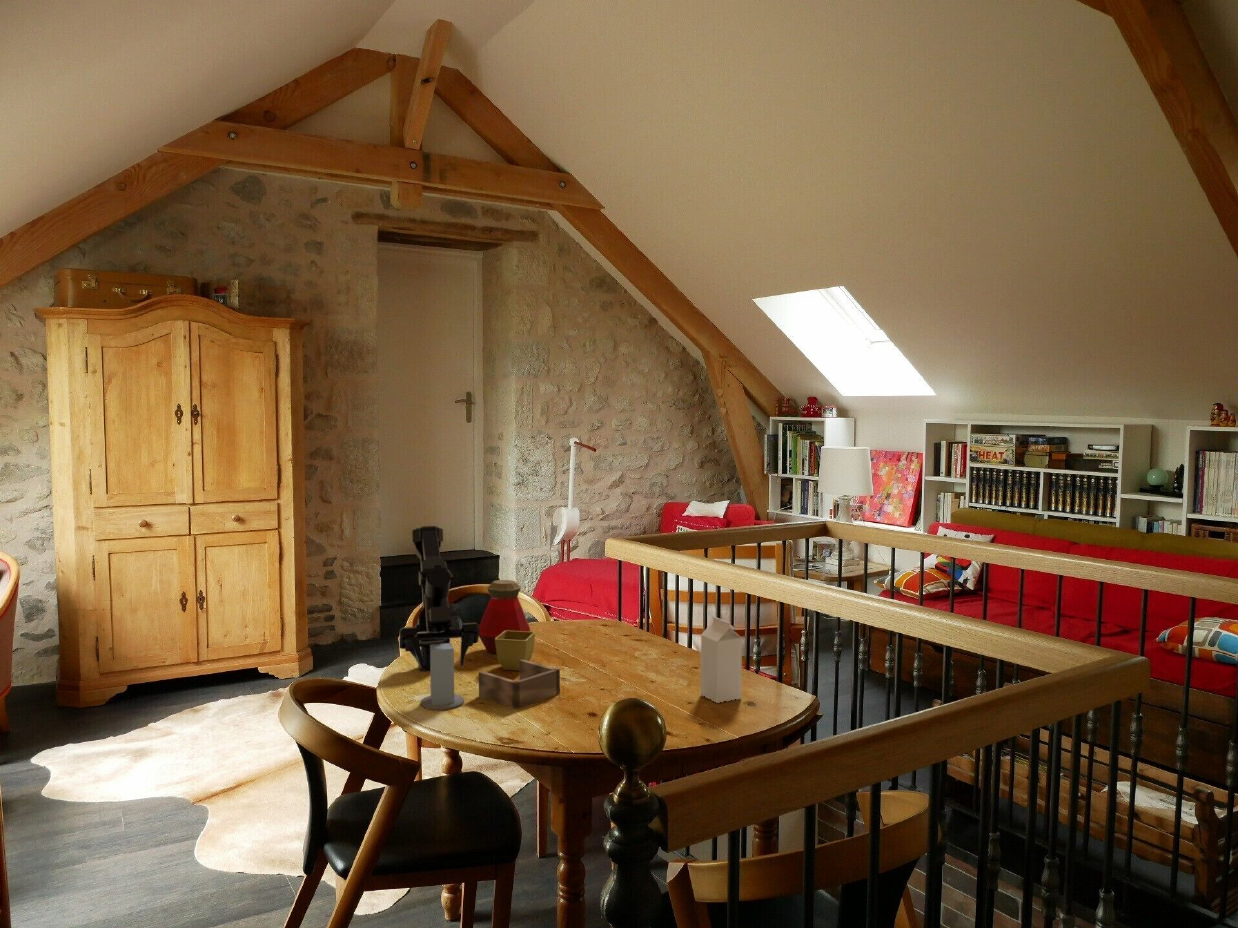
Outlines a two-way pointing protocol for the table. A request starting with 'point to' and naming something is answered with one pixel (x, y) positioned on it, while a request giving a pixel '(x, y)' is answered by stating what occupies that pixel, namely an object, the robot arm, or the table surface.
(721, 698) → the milk carton
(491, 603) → the bottle
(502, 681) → the crate
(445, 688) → the block
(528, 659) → the flower pot
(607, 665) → the table surface
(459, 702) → the mat
